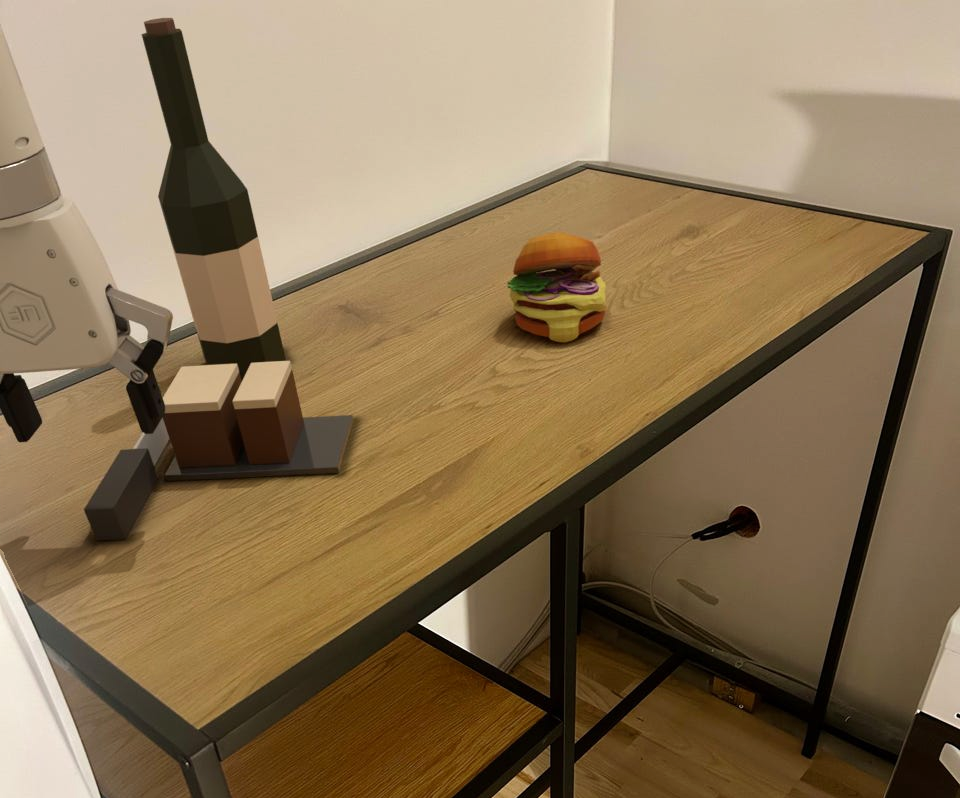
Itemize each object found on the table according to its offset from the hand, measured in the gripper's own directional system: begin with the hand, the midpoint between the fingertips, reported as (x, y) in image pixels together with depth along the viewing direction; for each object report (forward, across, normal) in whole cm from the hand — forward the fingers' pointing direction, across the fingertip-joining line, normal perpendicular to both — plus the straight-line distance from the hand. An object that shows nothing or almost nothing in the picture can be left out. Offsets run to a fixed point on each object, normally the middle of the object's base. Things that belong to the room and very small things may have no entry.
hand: (92, 429), depth 72 cm
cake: (+8, +5, +10) cm, 14 cm away
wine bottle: (+8, +4, +28) cm, 29 cm away
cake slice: (+8, +10, +10) cm, 16 cm away
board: (+8, +9, +10) cm, 16 cm away
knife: (+8, 0, +6) cm, 10 cm away
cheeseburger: (+9, +36, +34) cm, 50 cm away
